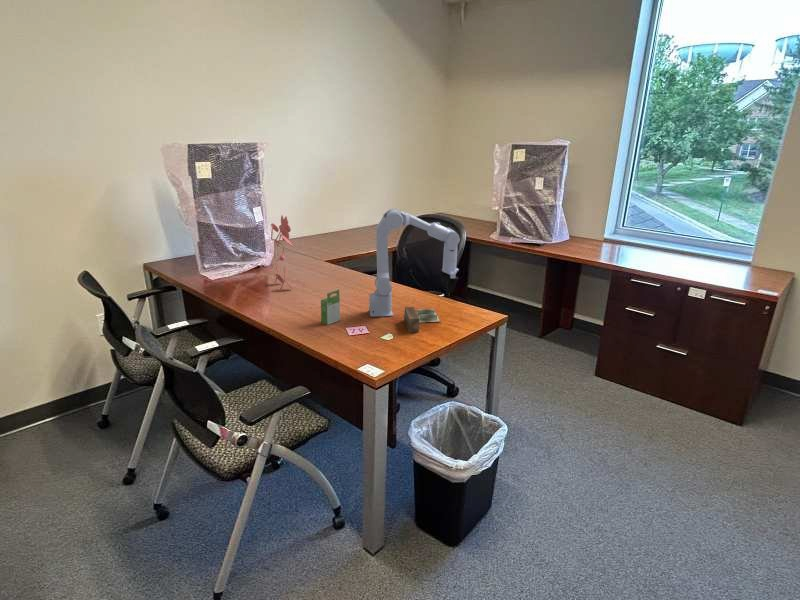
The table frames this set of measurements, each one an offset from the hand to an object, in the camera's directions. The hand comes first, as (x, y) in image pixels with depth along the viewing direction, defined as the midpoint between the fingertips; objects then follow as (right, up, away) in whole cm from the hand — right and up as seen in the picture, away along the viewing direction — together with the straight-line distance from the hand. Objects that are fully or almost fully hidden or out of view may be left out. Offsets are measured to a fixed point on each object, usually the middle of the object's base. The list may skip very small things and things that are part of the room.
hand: (448, 289), depth 205 cm
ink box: (-49, -13, -11) cm, 52 cm away
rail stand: (-9, -12, -5) cm, 16 cm away
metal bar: (-16, -15, -13) cm, 26 cm away
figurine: (-75, +2, +31) cm, 81 cm away
